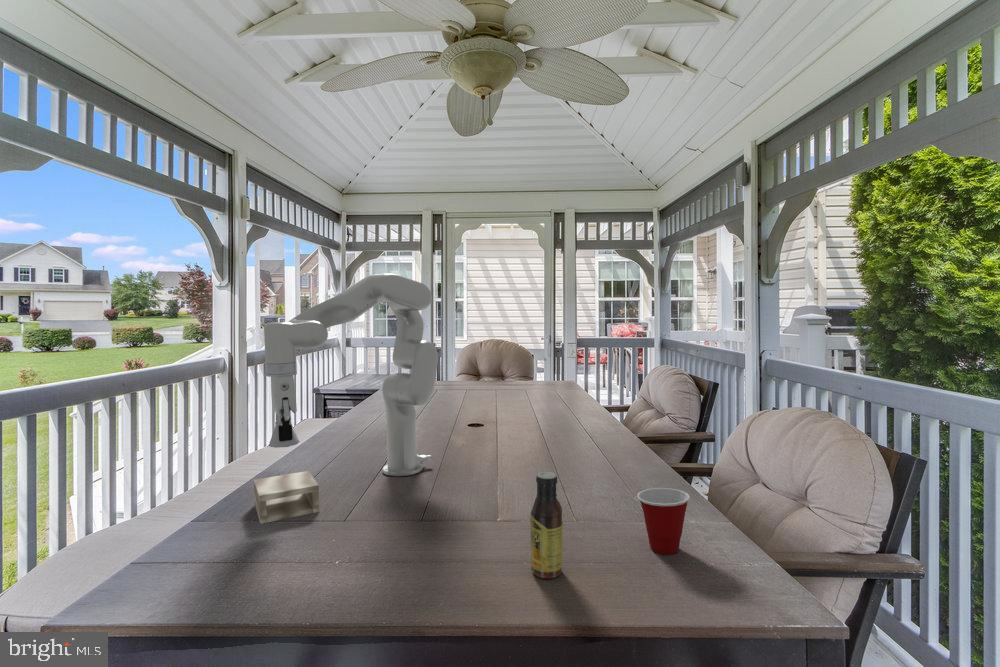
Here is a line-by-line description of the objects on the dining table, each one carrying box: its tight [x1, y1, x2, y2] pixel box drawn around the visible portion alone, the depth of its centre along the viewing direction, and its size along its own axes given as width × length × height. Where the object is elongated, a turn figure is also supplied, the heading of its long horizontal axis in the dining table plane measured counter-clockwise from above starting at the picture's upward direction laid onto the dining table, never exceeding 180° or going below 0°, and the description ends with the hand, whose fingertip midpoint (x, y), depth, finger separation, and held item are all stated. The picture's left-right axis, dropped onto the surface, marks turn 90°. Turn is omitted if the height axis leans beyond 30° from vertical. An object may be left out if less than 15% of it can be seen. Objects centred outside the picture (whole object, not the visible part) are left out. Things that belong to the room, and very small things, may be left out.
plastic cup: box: [636, 487, 691, 556], centre depth 111 cm, size 11×11×12 cm
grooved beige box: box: [253, 470, 320, 525], centre depth 137 cm, size 14×14×7 cm
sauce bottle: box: [530, 471, 564, 579], centre depth 102 cm, size 7×6×20 cm
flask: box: [268, 409, 300, 449], centre depth 136 cm, size 7×7×10 cm
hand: (284, 437), depth 136 cm, fingers closed on flask, 5 cm apart
